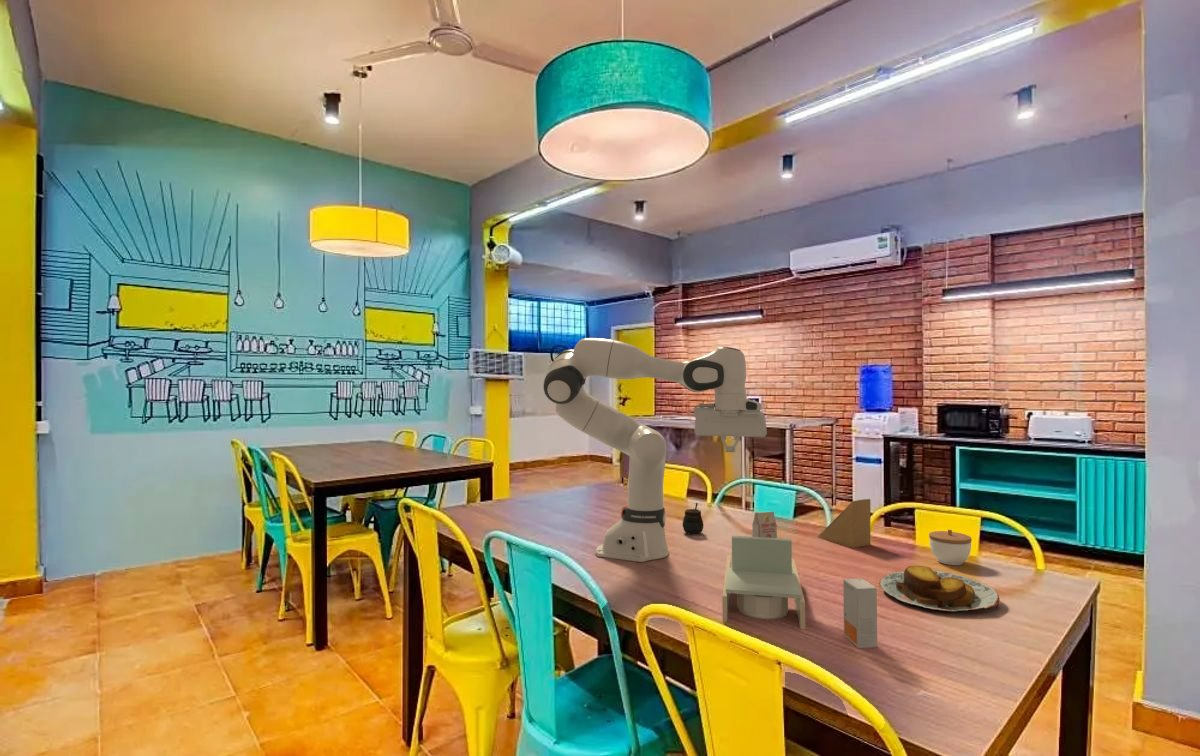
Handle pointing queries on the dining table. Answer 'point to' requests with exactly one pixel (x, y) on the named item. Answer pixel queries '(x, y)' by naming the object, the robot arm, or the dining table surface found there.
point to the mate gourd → (693, 521)
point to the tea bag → (764, 525)
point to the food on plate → (939, 589)
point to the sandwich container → (850, 525)
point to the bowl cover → (762, 567)
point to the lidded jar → (950, 546)
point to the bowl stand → (763, 602)
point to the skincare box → (860, 612)
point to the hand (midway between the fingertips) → (730, 452)
